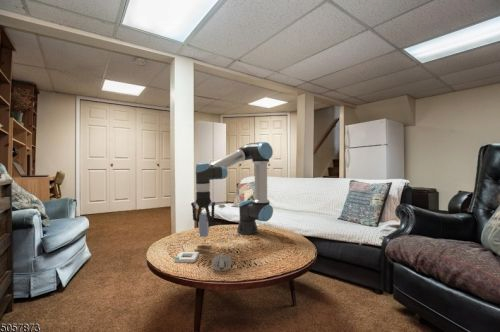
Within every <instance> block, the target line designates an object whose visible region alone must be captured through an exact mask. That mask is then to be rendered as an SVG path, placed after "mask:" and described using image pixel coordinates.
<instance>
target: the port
mask: <svg viewBox="0 0 500 332" xmlns="http://www.w3.org/2000/svg"><path fill="white" fill-rule="evenodd" d="M199 256H200V253H199V252H194V251H180V252H179V253H178V254H177V256H175V257H174V259H173V261H174V263H196V261H197V259H198V257H199Z"/></svg>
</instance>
